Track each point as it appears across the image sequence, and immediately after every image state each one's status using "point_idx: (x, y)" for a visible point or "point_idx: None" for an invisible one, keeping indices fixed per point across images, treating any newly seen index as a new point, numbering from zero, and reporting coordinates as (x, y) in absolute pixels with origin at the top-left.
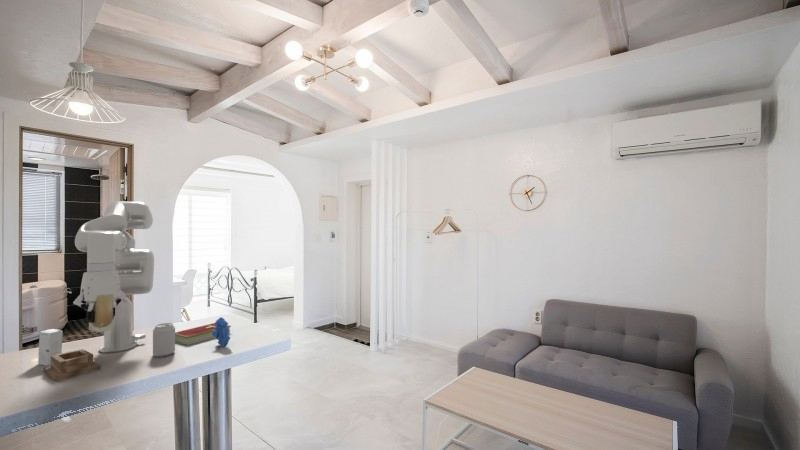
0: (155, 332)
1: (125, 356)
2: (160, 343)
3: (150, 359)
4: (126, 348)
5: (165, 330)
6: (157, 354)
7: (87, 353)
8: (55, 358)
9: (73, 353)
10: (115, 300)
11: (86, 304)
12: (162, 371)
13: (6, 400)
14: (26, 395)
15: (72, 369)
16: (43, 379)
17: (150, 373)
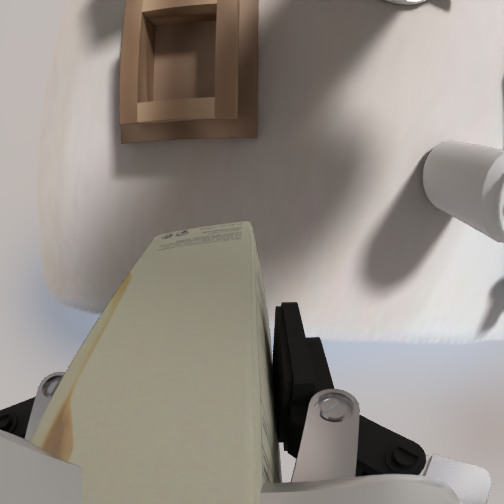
0: (477, 205)
1: (370, 64)
2: (454, 213)
3: (401, 186)
4: (398, 2)
5: (496, 239)
6: (426, 192)
7: (224, 77)
8: (122, 51)
9: (198, 7)
10: (369, 473)
11: (33, 430)
12: (353, 327)
13: (38, 205)
14: (65, 207)
15: (169, 121)
16: (111, 90)
17: (329, 317)
